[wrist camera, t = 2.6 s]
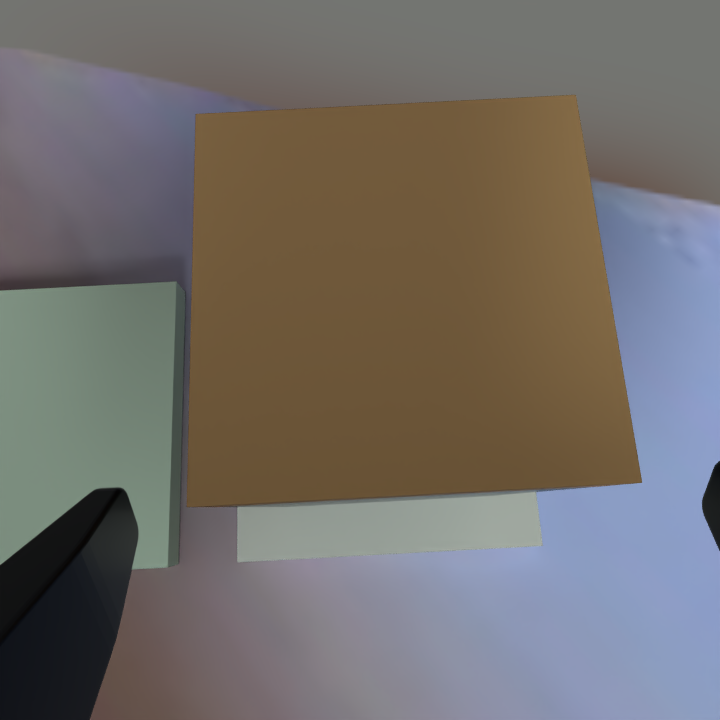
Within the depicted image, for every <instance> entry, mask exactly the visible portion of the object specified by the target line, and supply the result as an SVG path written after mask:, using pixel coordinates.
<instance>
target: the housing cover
mask: <svg viewBox="0 0 720 720" xmlns="http://www.w3.org/2000/svg"><path fill="white" fill-rule="evenodd" d="M633 483H642V479H641V473H640V467H639V461H638V455H637V450H636V444H635V438H634V432H633V426H632V420H631V415H630V409H629V403H628V397H627V391H626V385H625V379H624V374H623V368H622V362H621V356H620V350H619V344H618V339H617V333H616V327H615V321H614V315H613V309H612V304H611V298H610V292H609V286H608V280H607V274H606V269H605V263H604V257H603V251H602V245H601V239H600V233H599V228H598V222H597V216H596V210H595V204H594V198H593V193H592V187H591V181H590V175H589V170H588V163H587V158H586V152H585V146H584V140H583V134H582V129H581V123H580V117H579V111H578V105H577V99H576V95H562V96H543V97H522V98H503V99H483V100H463V101H443V102H425V103H424V102H423V103H406V104H384V105H366V106H365V105H364V106H345V107H326V108H308V109H307V108H305V109H285V110H266V111H246V112H226V113H206V114H196V123H195V167H194V211H193V255H192V299H191V343H190V387H189V431H188V475H187V507H226V506H245V505H264V504H282V503H301V502H320V501H338V500H357V499H376V498H394V497H413V496H431V495H450V494H469V493H487V492H506V491H525V490H543V489H562V488H581V487H599V486H610V485H621V484H633Z"/></svg>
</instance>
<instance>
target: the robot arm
mask: <svg viewBox="0 0 720 720" xmlns="http://www.w3.org/2000/svg"><path fill="white" fill-rule="evenodd" d="M702 509H703V513H704V516H705V519H706V521H707V523H708V526H709V528H710V530H711V532H712V535H713V537H714V539H715V542H716V544H717V546H718V548H719V551H720V461H719V462H718V463H717V464H716V465H715V466H714V469H713V471H712V474H711V477H710V480H709V482H708V485H707V488H706V491H705V493H704V496H703V500H702ZM138 536H139V530H138V524H137V521H136V518H135V515H134V512H133V509H132V506H131V503H130V500H129V497H128V494H127V492H126V491H125V490H124V489H123V488H120V487H111V488H98V489H95V490H93V491H92V492H90V493H89V494H88V495H86V496H85V497H84V498H83V499H81V500H80V501H79V502H78V503H76V504H75V505H74V506H73V507H71V508H70V509H69V510H68V511H67V512H65V513H64V514H63V515H62V516H60V517H59V518H58V519H57V520H55V521H54V522H53V523H52V524H50V525H49V526H48V527H47V528H45V529H44V530H43V531H42V532H40V533H39V534H38V535H37V536H35V537H34V538H33V539H32V540H30V541H29V542H28V543H27V544H26V545H24V546H23V547H22V548H21V549H19V550H18V551H17V552H16V553H14V554H13V555H12V556H11V557H9V558H8V559H7V560H6V561H4V562H3V563H2V564H1V565H0V720H90V717H91V714H92V711H93V708H94V705H95V702H96V699H97V696H98V693H99V690H100V687H101V684H102V681H103V678H104V675H105V672H106V669H107V666H108V663H109V660H110V657H111V654H112V651H113V647H114V644H115V641H116V638H117V634H118V630H119V625H120V621H121V617H122V612H123V608H124V603H125V598H126V594H127V589H128V585H129V580H130V575H131V571H132V566H133V561H134V557H135V552H136V548H137V543H138Z"/></svg>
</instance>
